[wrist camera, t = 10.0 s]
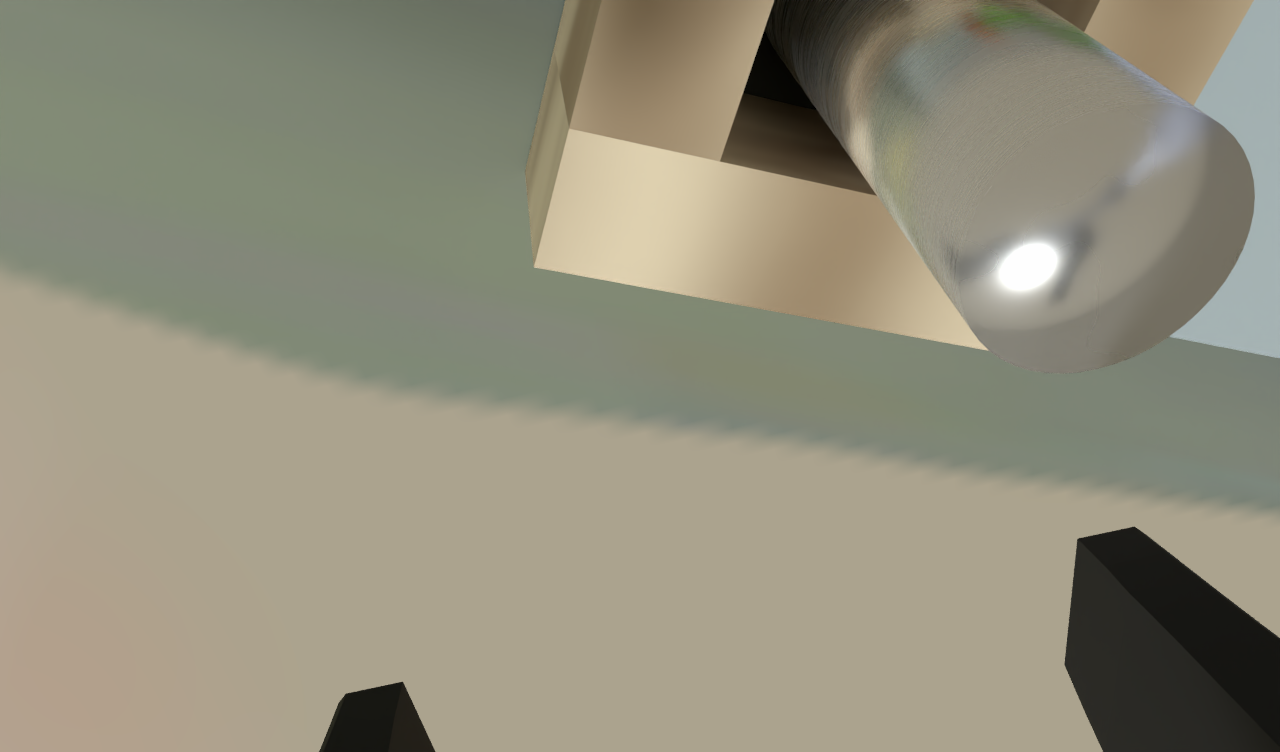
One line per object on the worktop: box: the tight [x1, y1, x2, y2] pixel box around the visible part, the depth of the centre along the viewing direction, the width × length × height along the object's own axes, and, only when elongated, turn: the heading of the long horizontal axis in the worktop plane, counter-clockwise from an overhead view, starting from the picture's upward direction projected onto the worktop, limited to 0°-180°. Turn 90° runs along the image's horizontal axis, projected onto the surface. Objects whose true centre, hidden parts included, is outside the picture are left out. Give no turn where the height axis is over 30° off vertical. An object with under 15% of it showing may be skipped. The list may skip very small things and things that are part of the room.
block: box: [525, 0, 1254, 351], centre depth 16 cm, size 9×9×4 cm
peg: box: [765, 0, 1255, 373], centre depth 14 cm, size 3×3×9 cm
